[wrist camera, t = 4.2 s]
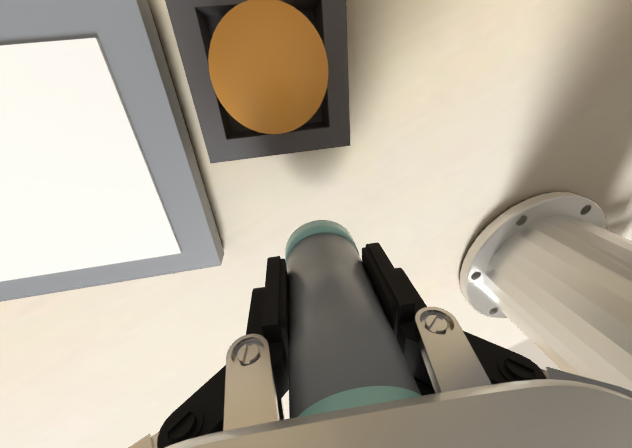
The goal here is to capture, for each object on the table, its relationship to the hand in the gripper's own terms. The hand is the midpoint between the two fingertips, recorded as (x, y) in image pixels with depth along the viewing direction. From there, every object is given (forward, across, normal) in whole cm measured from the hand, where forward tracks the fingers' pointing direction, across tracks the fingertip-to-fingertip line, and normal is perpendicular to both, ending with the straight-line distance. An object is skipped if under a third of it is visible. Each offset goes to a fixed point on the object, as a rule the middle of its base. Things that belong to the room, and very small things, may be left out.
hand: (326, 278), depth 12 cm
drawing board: (+6, +16, -5) cm, 18 cm away
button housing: (+7, +1, -9) cm, 11 cm away
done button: (+4, +1, -9) cm, 10 cm away
